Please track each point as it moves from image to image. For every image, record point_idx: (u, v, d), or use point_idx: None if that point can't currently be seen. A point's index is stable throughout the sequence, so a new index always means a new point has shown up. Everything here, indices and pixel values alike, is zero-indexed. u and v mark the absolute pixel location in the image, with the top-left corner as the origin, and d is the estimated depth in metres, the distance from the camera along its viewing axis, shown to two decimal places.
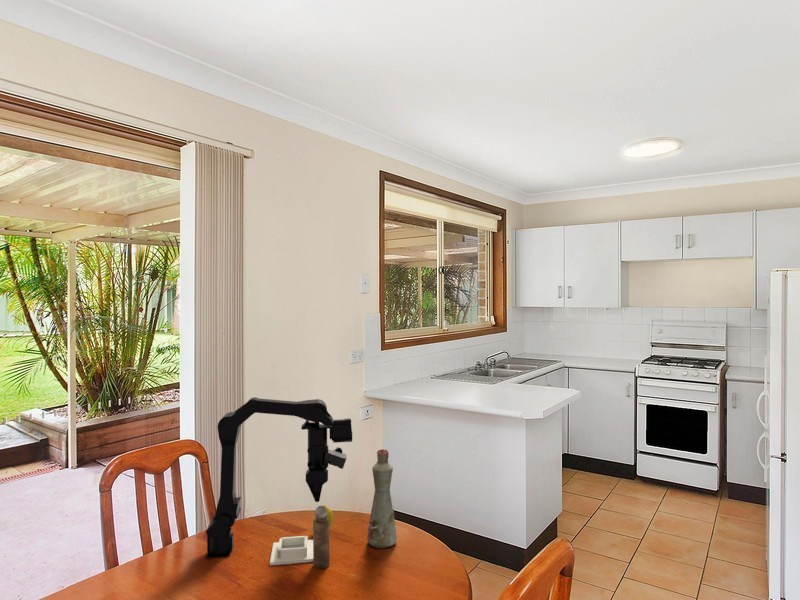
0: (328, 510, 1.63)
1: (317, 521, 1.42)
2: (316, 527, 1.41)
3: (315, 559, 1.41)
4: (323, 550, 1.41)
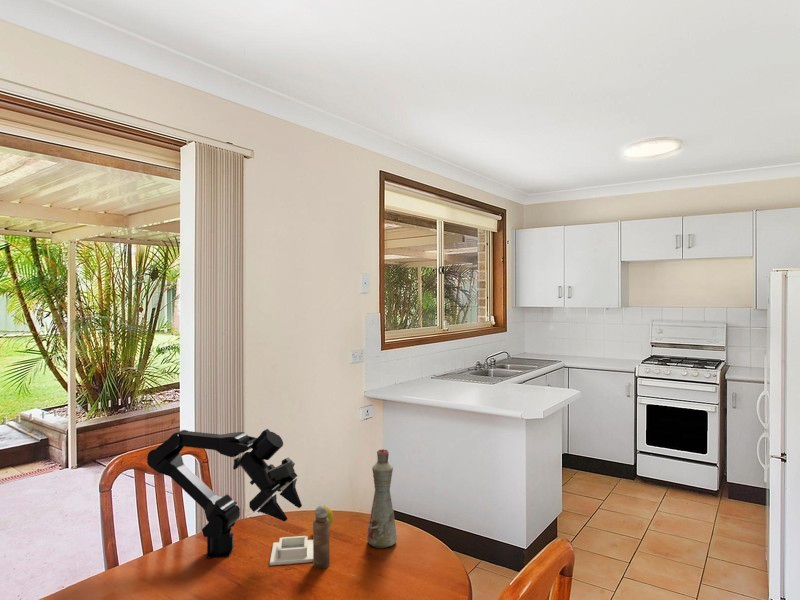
0: (328, 510, 1.63)
1: (317, 521, 1.42)
2: (316, 527, 1.41)
3: (315, 559, 1.41)
4: (323, 550, 1.41)
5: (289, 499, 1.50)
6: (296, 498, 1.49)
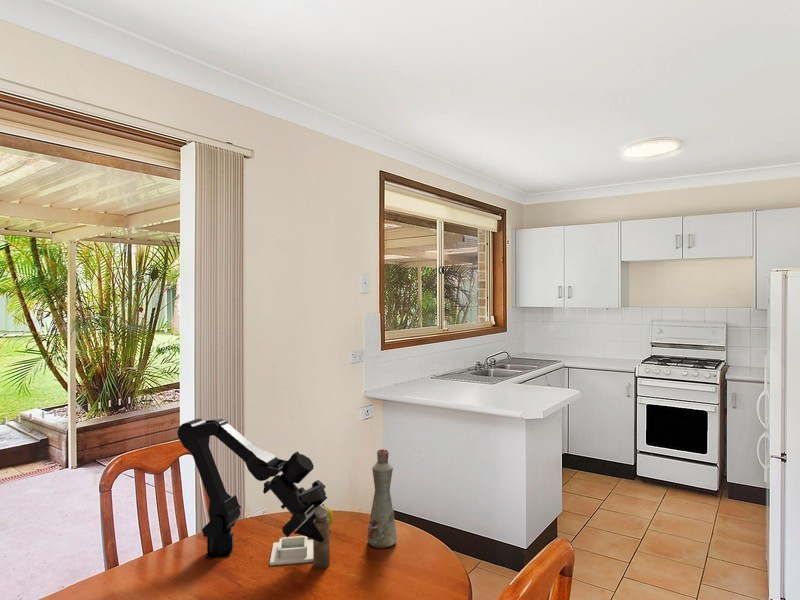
0: (328, 510, 1.63)
1: (317, 521, 1.42)
2: (316, 527, 1.41)
3: (315, 559, 1.41)
4: (323, 550, 1.41)
5: None
6: None
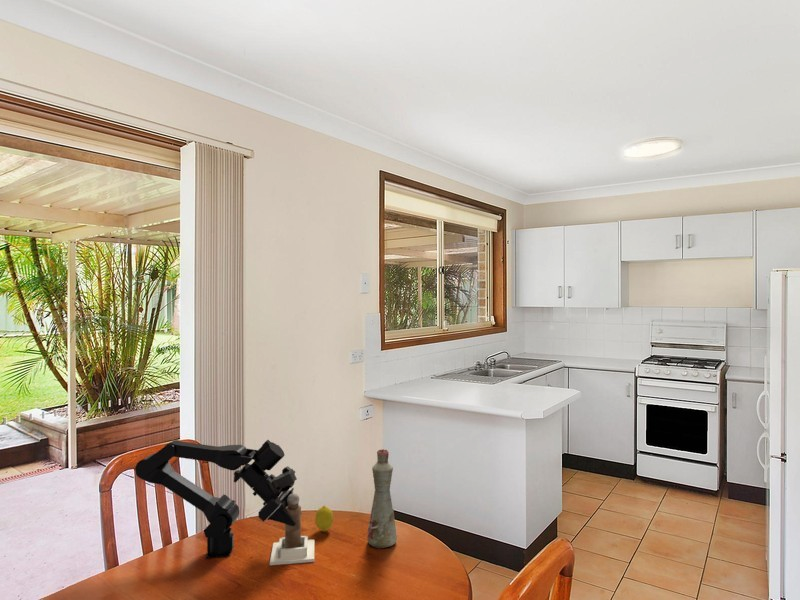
0: (328, 510, 1.63)
1: (290, 508, 1.48)
2: None
3: (287, 544, 1.47)
4: (296, 535, 1.48)
5: None
6: None
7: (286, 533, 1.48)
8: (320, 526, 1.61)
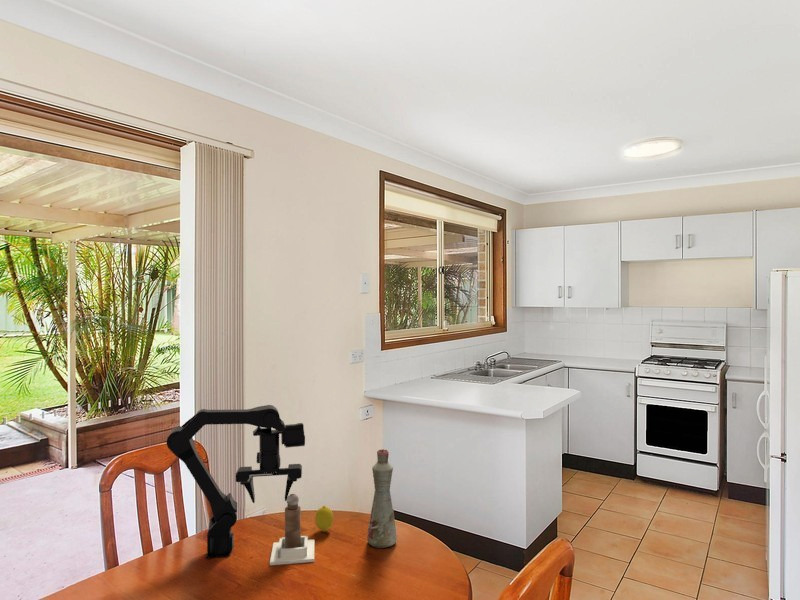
0: (328, 510, 1.63)
1: (289, 508, 1.48)
2: (289, 514, 1.47)
3: (287, 545, 1.47)
4: (296, 535, 1.48)
5: (252, 491, 1.52)
6: None
7: (286, 533, 1.48)
8: (320, 526, 1.61)
